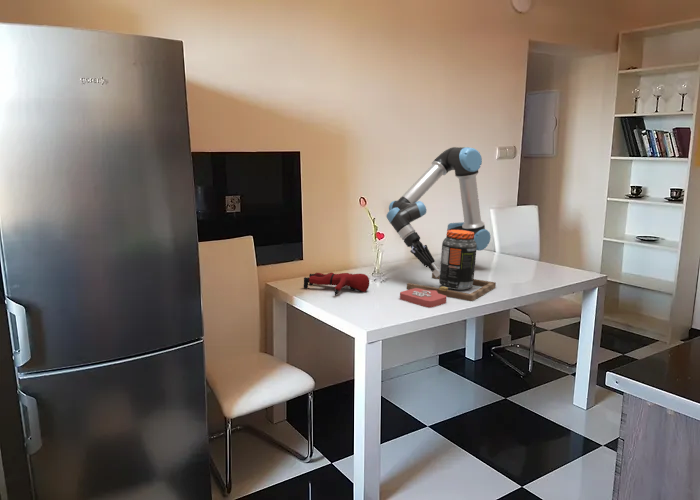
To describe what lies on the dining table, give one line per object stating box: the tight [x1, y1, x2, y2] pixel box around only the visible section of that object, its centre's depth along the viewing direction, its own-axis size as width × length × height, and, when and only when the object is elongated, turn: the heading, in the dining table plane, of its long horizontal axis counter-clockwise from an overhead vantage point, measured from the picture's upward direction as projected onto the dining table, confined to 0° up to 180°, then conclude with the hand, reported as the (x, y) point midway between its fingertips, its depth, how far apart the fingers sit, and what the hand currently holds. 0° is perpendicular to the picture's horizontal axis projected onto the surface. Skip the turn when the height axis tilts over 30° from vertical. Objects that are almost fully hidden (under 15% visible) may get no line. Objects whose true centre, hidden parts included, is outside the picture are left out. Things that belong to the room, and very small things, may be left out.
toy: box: [303, 272, 370, 296], centre depth 249 cm, size 28×8×30 cm
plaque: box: [399, 288, 447, 308], centre depth 233 cm, size 18×4×15 cm
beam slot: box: [406, 272, 497, 302], centre depth 251 cm, size 28×32×4 cm
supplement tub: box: [438, 230, 477, 290], centre depth 251 cm, size 16×16×26 cm
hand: (438, 275), depth 253 cm, fingers closed
